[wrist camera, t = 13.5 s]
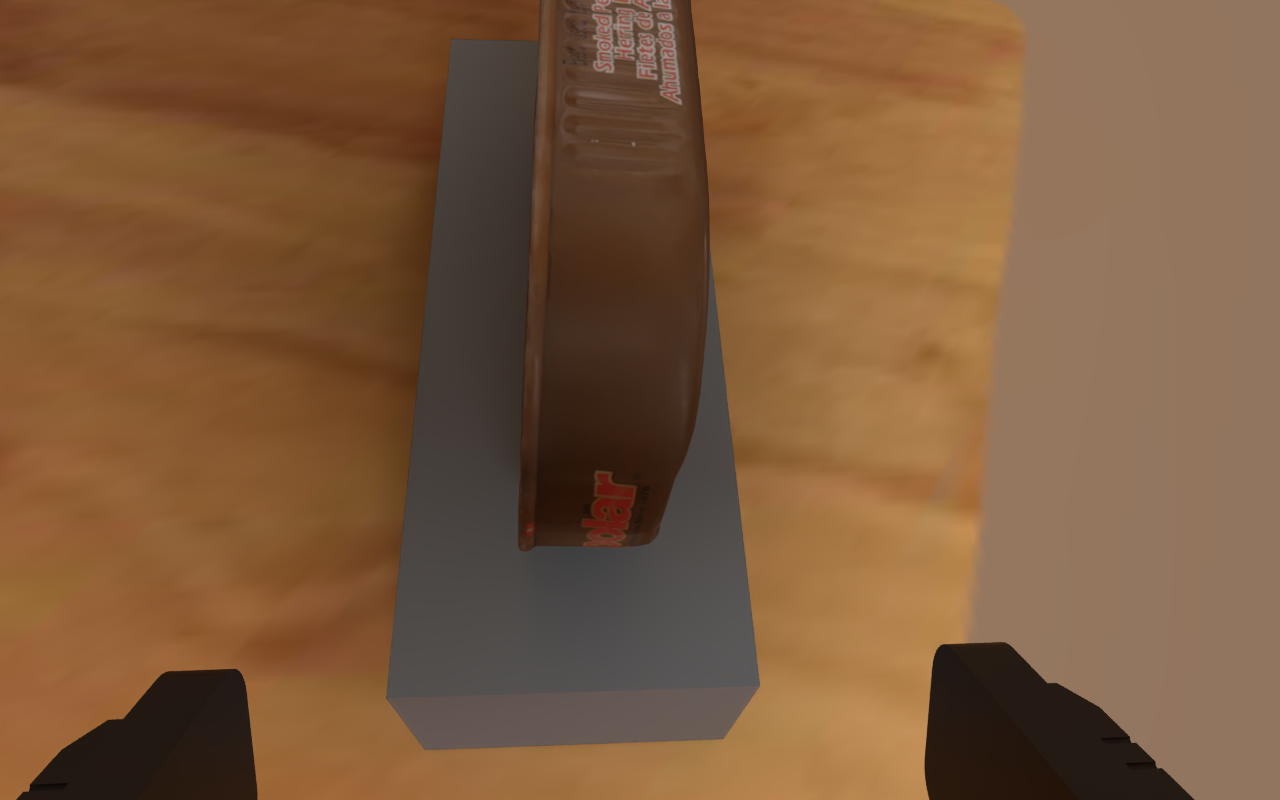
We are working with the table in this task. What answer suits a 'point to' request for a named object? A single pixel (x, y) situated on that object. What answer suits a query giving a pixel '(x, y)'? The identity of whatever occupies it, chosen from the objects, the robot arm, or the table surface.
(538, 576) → the base brick
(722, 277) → the table surface
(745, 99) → the table surface
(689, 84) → the tin
